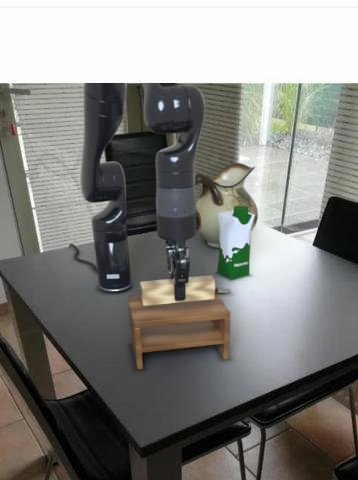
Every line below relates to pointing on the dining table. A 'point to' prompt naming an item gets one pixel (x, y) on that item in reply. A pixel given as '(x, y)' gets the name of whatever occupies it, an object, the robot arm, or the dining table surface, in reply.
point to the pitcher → (222, 199)
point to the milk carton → (235, 242)
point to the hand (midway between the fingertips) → (178, 295)
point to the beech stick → (164, 290)
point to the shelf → (178, 326)
